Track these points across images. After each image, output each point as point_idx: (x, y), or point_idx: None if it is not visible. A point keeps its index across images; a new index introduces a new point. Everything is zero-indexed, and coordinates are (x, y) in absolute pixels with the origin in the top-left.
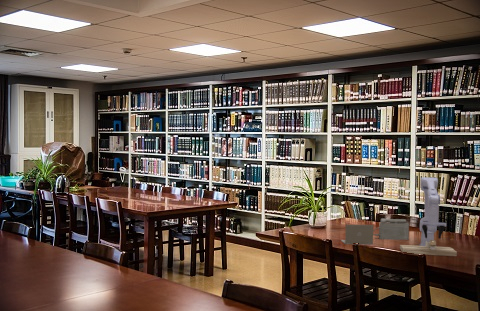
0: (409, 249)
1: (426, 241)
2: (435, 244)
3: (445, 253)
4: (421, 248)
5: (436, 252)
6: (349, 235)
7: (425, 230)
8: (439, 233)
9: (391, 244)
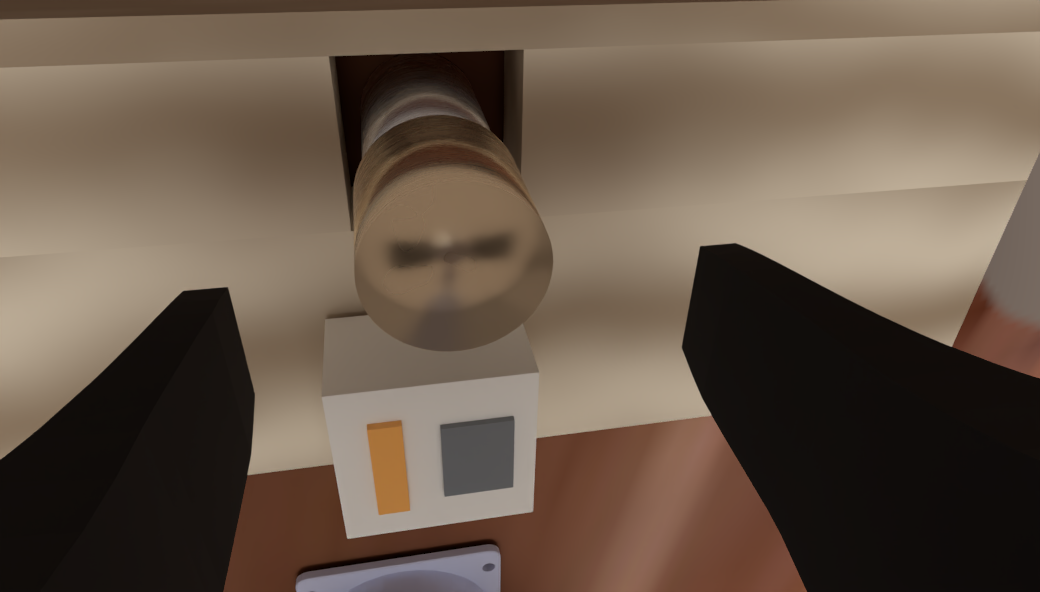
0: (988, 14)
1: (524, 485)
2: (373, 165)
3: (97, 3)
4: (661, 206)
5: (347, 1)
6: None
7: (1017, 392)
8: (186, 486)
9: None
